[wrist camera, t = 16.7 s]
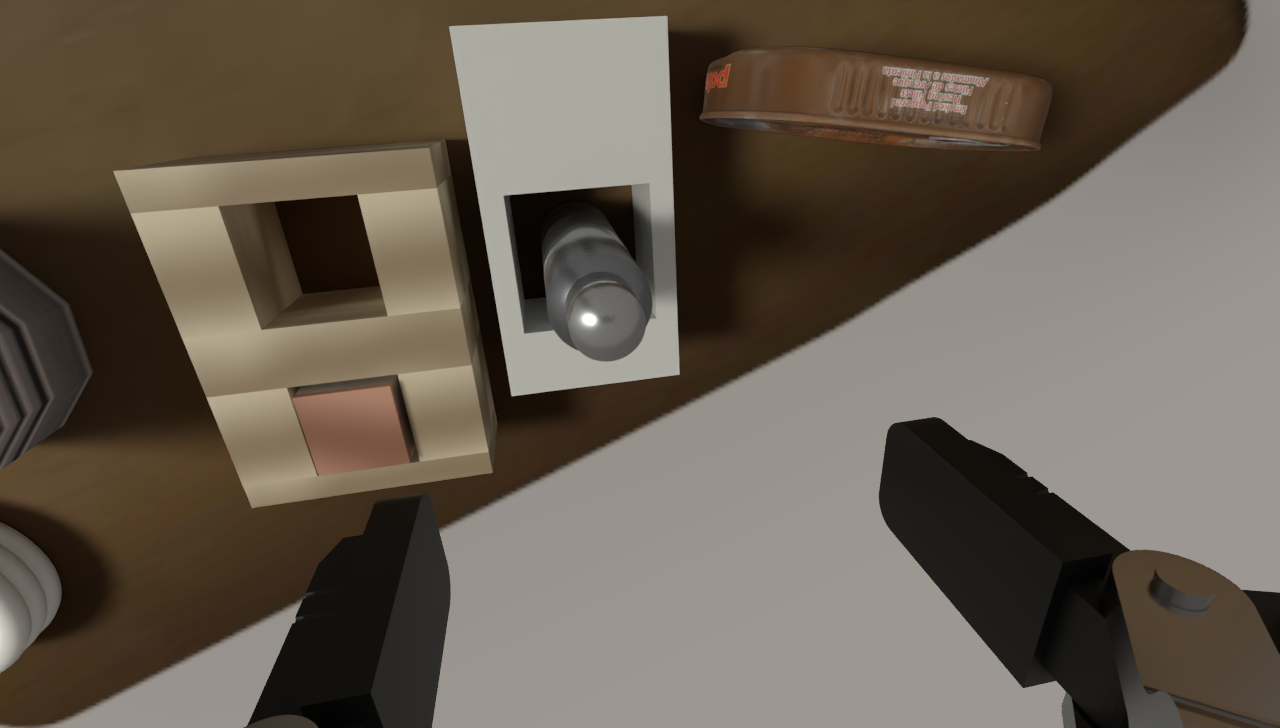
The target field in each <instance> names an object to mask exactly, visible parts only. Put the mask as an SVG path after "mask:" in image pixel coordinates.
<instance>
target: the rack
mask: <svg viewBox="0 0 1280 728" xmlns="http://www.w3.org/2000/svg"><path fill="white" fill-rule="evenodd" d="M449 29H450V35H451V40H452V46H453V52H454V58H455V64H456V70H457V76H458V82H459V88H460V94H461V100H462V106H463V112H464V118H465V123H466V129H467V135H468V141H469V147H470V153H471V159H472V165H473V171H474V177H475V183H476V189H477V195H478V201H479V206H480V212H481V218H482V224H483V230H484V236H485V242H486V248H487V254H488V260H489V266H490V272H491V278H492V284H493V289H494V295H495V301H496V307H497V313H498V319H499V325H500V331H501V337H502V343H503V349H504V355H505V361H506V367H507V372H508V378H509V384H510V390H511V396H518V395H526V394H534V393H541V392H549V391H557V390H564V389H572V388H580V387H587V386H595V385H603V384H610V383H618V382H626V381H634V380H641V379H649V378H657V377H664V376H672V375H680V373H679V344H678V315H677V285H676V256H675V227H674V197H673V168H672V139H671V109H670V80H669V51H668V21H667V16H655V17H634V18H613V19H593V20H572V21H551V22H530V23H509V24H488V25H467V26H449ZM622 185H632V201H633V217H634V233H635V249H636V264H637V265H638V267H639V268H640V270H641V271H642V273H643V274H644V276H645V278H646V279H647V281H648V283H649V286H650V289H651V293H652V300H653V301H652V313H651V316H650V320H649V322H648V324H647V326H646V329H645V333H644V337H643V339H642V341H641V343H640V344H639V345H638V347H637V348H636V349H635V350H634V351H633V352H632V353H630V354H629V355H627V356H626V357H624V358H622V359H619V360H616V361H609V362H603V361H596V360H593V359H590V358H588V357H586V356H585V355H583V354H582V353H581V352H580V351H578V350H576V349H573V348H572V347H570V346H569V345H567V344H566V343H565V342H563V341H562V340H561V339H560V338H559V336H558V335H557V334H556V332H555V331H554V329H553V327H552V325H551V323H550V320H549V317H548V311H547V301H546V297H543V298H534V299H524V292H523V285H522V278H521V272H520V265H519V258H518V251H517V244H516V238H515V231H514V224H513V217H512V210H511V204H510V197H509V195H517V194H528V193H540V192H552V191H563V190H575V189H587V188H598V187H610V186H622Z"/></svg>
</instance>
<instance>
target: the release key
mask: <svg viewBox="0 0 1280 728" xmlns="http://www.w3.org/2000/svg"><path fill="white" fill-rule="evenodd" d="M292 399H293V402H294V405H295V408H296V411H297V413H298V416H299V419H300V422H301V425H302V428H303V431H304V434H305V437H306V440H307V443H308V445H309V448H310V451H311V454H312V457H313V460H314V463H315V466H316V469H317V472H318V475H319V476H322V475H329V474H336V473H343V472H350V471H357V470H364V469H371V468H378V467H385V466H392V465H399V464H407V463H410V462H411V459H412V455H413V452H414V449H415V446H416V445H415V441H414V437H413V433H412V429H411V425H410V421H409V417H408V413H407V409H406V405H405V402H404V398H403V394H402V390H401V386H400V382H399V378H398V374H396V375H388V376H379V377H371V378H363V379H355V380H347V381H338V382H330V383H322V384H314V385H306V386H301V388H300V389H299V390H298V391H297V393H296V394H295V395H294V397H293V398H292Z"/></svg>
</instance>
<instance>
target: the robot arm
mask: <svg viewBox="0 0 1280 728" xmlns="http://www.w3.org/2000/svg"><path fill="white" fill-rule="evenodd" d="M879 503H880V508H881V512H882V515H883V518H884V520H885V522H886V524H887V526H888V527H889V528H890V530H891V531H892V532H893V533H894V535H895V536H896V537H897V538H898V540H899V541H900V542H901V543H902V544H903V545H904V547H906V549H907V550H908V551H909V552H910V554H911V555H912V556H913V557H914V559H915V560H916V561H917V562H918V563H919V564H920V566H921V567H922V568H923V569H924V571H925V572H926V573H927V574H928V575H929V576H930V578H931V579H932V580H933V581H934V582H935V584H936V585H937V586H938V587H939V588H940V590H941V591H942V592H943V593H944V594H945V595H946V597H947V598H948V599H949V600H950V601H951V603H952V604H953V605H954V606H955V607H956V609H957V610H958V611H959V612H960V613H961V615H962V616H963V617H964V618H965V619H966V621H967V622H968V623H969V624H970V625H971V627H972V628H973V629H974V630H975V631H976V632H977V634H978V635H979V636H980V637H981V638H982V640H983V641H984V642H985V643H986V644H987V646H988V647H989V648H990V649H991V650H992V651H993V653H994V654H995V655H996V656H997V657H998V659H999V660H1000V661H1001V662H1002V663H1003V665H1004V666H1005V667H1006V668H1007V669H1008V671H1009V672H1010V673H1011V674H1012V675H1013V676H1014V678H1015V679H1016V680H1017V681H1018V683H1019V684H1020V685H1021V686H1022V687H1023V688H1025V687H1030V686H1035V685H1039V684H1044V683H1048V682H1053V681H1057V682H1058V683H1059V684H1060V685H1061V686H1062V687H1063V688H1064V690H1065V691H1066V694H1065V697H1064V700H1063V703H1062V717H1063V725H1064V728H1280V593H1276V592H1263V591H1250V590H1241V589H1240V588H1239V587H1238V586H1237V585H1235V584H1234V583H1233V582H1231V581H1230V580H1228V579H1227V578H1226V577H1224V576H1222V575H1221V574H1219V573H1217V572H1216V571H1214V570H1212V569H1210V568H1208V567H1206V566H1204V565H1202V564H1199V563H1197V562H1195V561H1192V560H1190V559H1187V558H1184V557H1181V556H1178V555H1174V554H1170V553H1166V552H1160V551H1153V550H1133V551H1130V550H1129V549H1128V548H1126V547H1125V546H1124V545H1122V544H1121V543H1120V542H1118V541H1117V540H1116V539H1114V538H1113V537H1112V536H1110V535H1109V534H1108V533H1106V532H1105V531H1104V530H1102V529H1101V528H1100V527H1098V526H1097V525H1096V524H1095V523H1093V522H1092V521H1090V520H1089V519H1088V518H1086V517H1085V516H1084V515H1083V514H1081V513H1080V512H1078V511H1077V510H1076V509H1075V508H1073V507H1072V506H1071V505H1069V504H1068V503H1066V502H1065V501H1064V500H1063V499H1061V498H1060V497H1059V496H1057V495H1056V494H1054V493H1049V492H1048V488H1047V487H1045V486H1044V485H1043V484H1041V483H1040V482H1039V481H1037V480H1036V479H1034V478H1033V477H1028V475H1027V472H1025V471H1024V470H1023V469H1021V468H1020V467H1019V466H1017V465H1016V464H1015V463H1013V462H1012V461H1011V460H1009V459H1008V458H1007V457H1006V456H1004V455H1003V454H1001V453H998V452H996V451H994V450H992V449H990V448H987V447H985V446H983V445H981V444H978V443H976V442H974V441H972V440H968V439H966V438H965V437H964V436H963V435H961V434H960V433H959V432H957V431H956V430H955V429H954V428H952V427H951V426H950V425H948V424H947V423H946V422H945V421H943V420H942V419H940V418H936V417H933V418H926V419H919V420H913V421H907V422H900V423H895V424H893V425H892V426H891V427H890V428H889V430H888V433H887V438H886V446H885V453H884V461H883V468H882V475H881V483H880V490H879ZM449 607H450V576H449V569H448V564H447V560H446V556H445V553H444V549H443V545H442V541H441V537H440V533H439V529H438V525H437V521H436V518H435V514H434V510H433V506H432V503H431V500H430V497H429V496H428V494H427V493H422V494H415V495H409V496H402V497H395V498H389V499H382V500H378V501H376V503H375V504H374V507H373V509H372V512H371V515H370V517H369V520H368V523H367V525H366V528H365V531H364V533H363V535H359V536H353V537H347V538H343V539H342V540H341V541H340V542H339V543H338V544H337V545H336V546H335V547H334V549H333V550H332V551H331V552H330V553H329V554H328V555H327V556H326V557H325V558H324V559H323V560H322V561H321V562H320V563H319V565H318V567H317V569H316V571H315V574H314V576H313V578H312V580H311V583H310V585H309V587H308V590H307V592H306V598H304V599H303V601H302V603H301V605H300V608H299V610H298V612H297V615H296V622H295V623H293V624H292V626H291V628H290V630H289V633H288V635H287V637H286V639H285V642H284V644H283V646H282V649H281V651H280V653H279V656H278V658H277V660H276V662H275V664H274V667H273V669H272V671H271V674H270V676H269V678H268V680H267V683H266V685H265V687H264V689H263V692H262V694H261V696H260V699H259V701H258V703H257V705H256V708H255V710H254V712H253V714H252V717H251V719H250V721H249V723H248V725H247V726H246V727H244V728H432V722H433V715H434V708H435V701H436V695H437V688H438V681H439V675H440V668H441V661H442V655H443V648H444V641H445V634H446V627H447V620H448V613H449Z"/></svg>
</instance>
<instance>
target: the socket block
mask: <svg viewBox="0 0 1280 728" xmlns="http://www.w3.org/2000/svg"><path fill="white" fill-rule="evenodd" d="M113 172H114V175H115V177H116V179H117V182H118V184H119V187H120V189H121V191H122V194H123V196H124V199H125V201H126V204H127V206H128V208H129V211H130V213H131V216H132V218H133V221H134V223H135V225H136V228H137V230H138V233H139V235H140V238H141V240H142V242H143V245H144V247H145V250H146V252H147V255H148V257H149V259H150V262H151V264H152V267H153V269H154V272H155V274H156V276H157V279H158V281H159V284H160V286H161V289H162V291H163V293H164V296H165V298H166V301H167V303H168V305H169V308H170V310H171V313H172V315H173V318H174V320H175V322H176V325H177V327H178V330H179V332H180V335H181V337H182V339H183V342H184V344H185V347H186V349H187V352H188V354H189V356H190V359H191V361H192V364H193V366H194V369H195V371H196V373H197V376H198V378H199V381H200V383H201V386H202V388H203V390H204V393H205V395H206V398H207V400H208V402H209V405H210V407H211V410H212V412H213V415H214V417H215V419H216V422H217V424H218V427H219V429H220V432H221V434H222V436H223V439H224V441H225V444H226V446H227V449H228V451H229V453H230V456H231V458H232V461H233V463H234V466H235V468H236V470H237V473H238V475H239V478H240V480H241V483H242V485H243V487H244V490H245V492H246V495H247V497H248V499H249V502H250V504H251V507H252V508H255V507H261V506H268V505H275V504H282V503H289V502H296V501H302V500H309V499H316V498H323V497H330V496H337V495H344V494H350V493H357V492H364V491H371V490H378V489H385V488H391V487H398V486H405V485H412V484H419V483H426V482H432V481H439V480H446V479H453V478H460V477H467V476H474V475H480V474H487V473H493V464H494V453H495V442H496V431H497V418H496V413H495V407H494V402H493V397H492V391H491V386H490V380H489V375H488V369H487V364H486V358H485V353H484V348H483V342H482V337H481V331H480V326H479V320H478V315H477V310H476V304H475V299H474V293H473V288H472V282H471V277H470V271H469V266H468V261H467V255H466V250H465V244H464V239H463V233H462V228H461V222H460V217H459V212H458V206H457V201H456V195H455V190H454V184H453V179H452V174H451V168H450V163H449V157H448V152H447V146H446V141H445V140H433V141H419V142H405V143H391V144H377V145H364V146H350V147H336V148H322V149H308V150H294V151H281V152H267V153H253V154H239V155H225V156H212V157H198V158H185V159H179V160H173V161H168V162H162V163H156V164H151V165H145V166H139V167H134V168H128V169H122V170H117V171H113ZM348 195H357V196H358V200H359V204H360V208H361V212H362V215H363V219H364V223H365V227H366V231H367V235H368V239H369V243H370V247H371V251H372V255H373V259H374V263H375V267H376V271H377V275H378V279H379V283H380V286H375V287H365V288H355V289H346V290H336V291H326V292H317V293H307V294H303V293H302V290H301V287H300V284H299V280H298V277H297V274H296V271H295V267H294V264H293V261H292V258H291V254H290V251H289V248H288V245H287V242H286V238H285V235H284V232H283V229H282V225H281V222H280V219H279V216H278V213H277V209H276V206H275V203H274V202H275V201H287V200H299V199H312V198H324V197H336V196H348ZM396 374H398V378H399V382H400V386H401V390H402V394H403V398H404V402H405V405H406V409H407V413H408V417H409V421H410V425H411V429H412V433H413V437H414V441H415V445H416V446H415V449H414V452H413V455H412V459H411V462H410V463H407V464H399V465H392V466H385V467H378V468H371V469H364V470H357V471H350V472H343V473H336V474H329V475H322V476H319V475H318V472H317V469H316V466H315V463H314V460H313V457H312V454H311V451H310V448H309V445H308V443H307V440H306V437H305V434H304V431H303V428H302V425H301V422H300V419H299V416H298V413H297V411H296V408H295V405H294V402H293V399H292V398H293V397H294V395H295V394H296V393H297V391H298V390H299V389H300V388H301V386H306V385H314V384H322V383H330V382H338V381H347V380H355V379H363V378H371V377H379V376H388V375H396Z"/></svg>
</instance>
